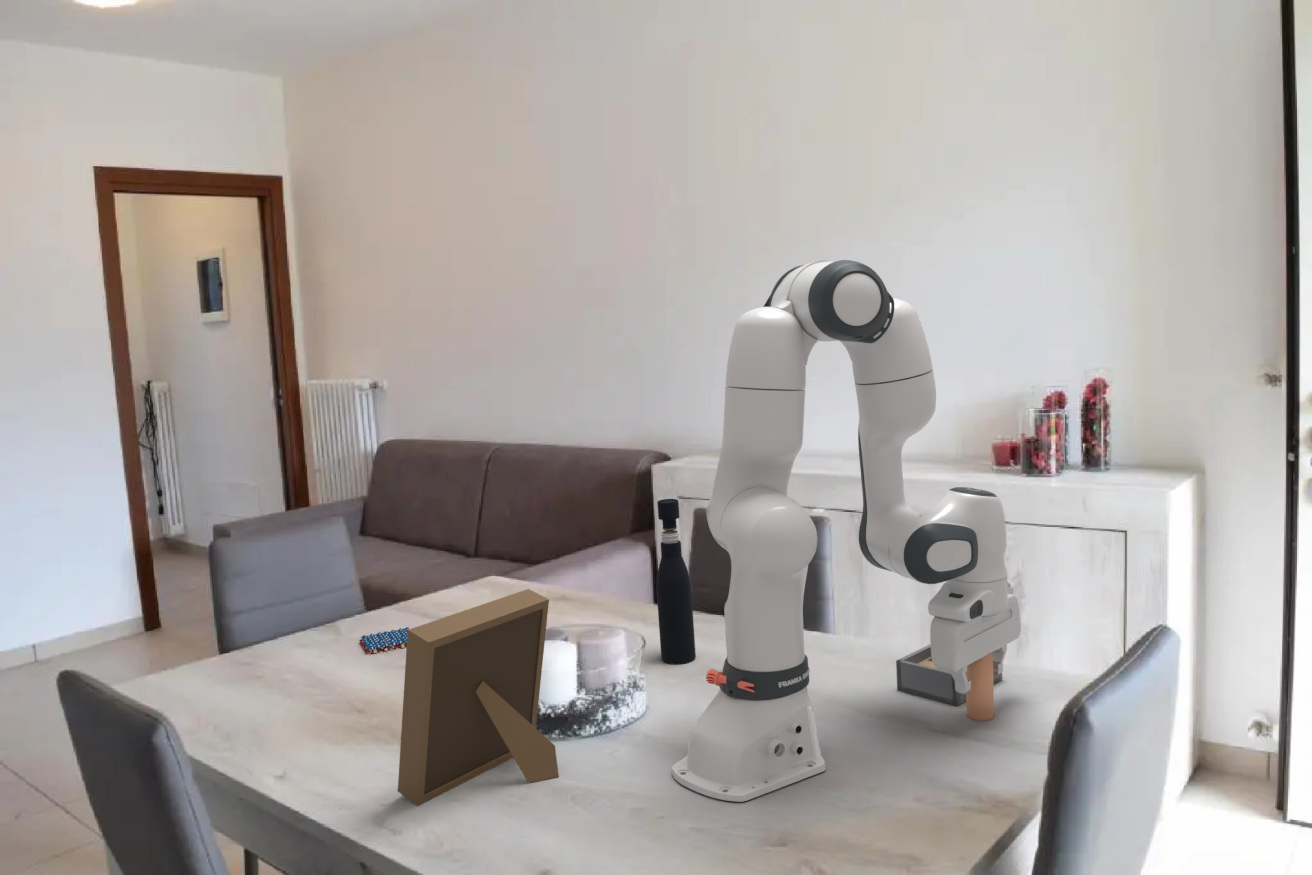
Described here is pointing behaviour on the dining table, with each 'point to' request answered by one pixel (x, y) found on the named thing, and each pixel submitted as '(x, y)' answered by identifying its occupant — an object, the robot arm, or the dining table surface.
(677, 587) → the black bottle
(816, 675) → the dining table surface
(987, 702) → the peg
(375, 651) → the woven mat
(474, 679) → the photo frame
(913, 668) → the bore box
